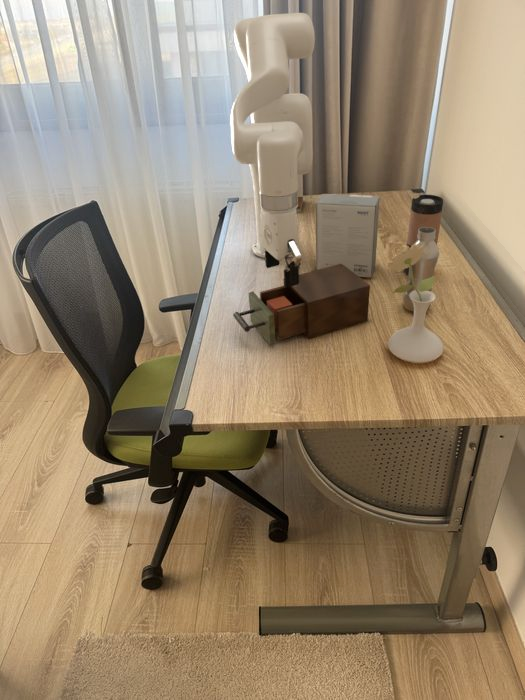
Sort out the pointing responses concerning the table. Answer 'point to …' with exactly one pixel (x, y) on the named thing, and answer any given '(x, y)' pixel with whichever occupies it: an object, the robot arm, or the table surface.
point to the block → (277, 306)
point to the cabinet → (333, 299)
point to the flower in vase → (415, 314)
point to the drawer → (287, 318)
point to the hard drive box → (347, 232)
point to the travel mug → (424, 217)
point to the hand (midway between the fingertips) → (281, 275)
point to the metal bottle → (422, 263)
